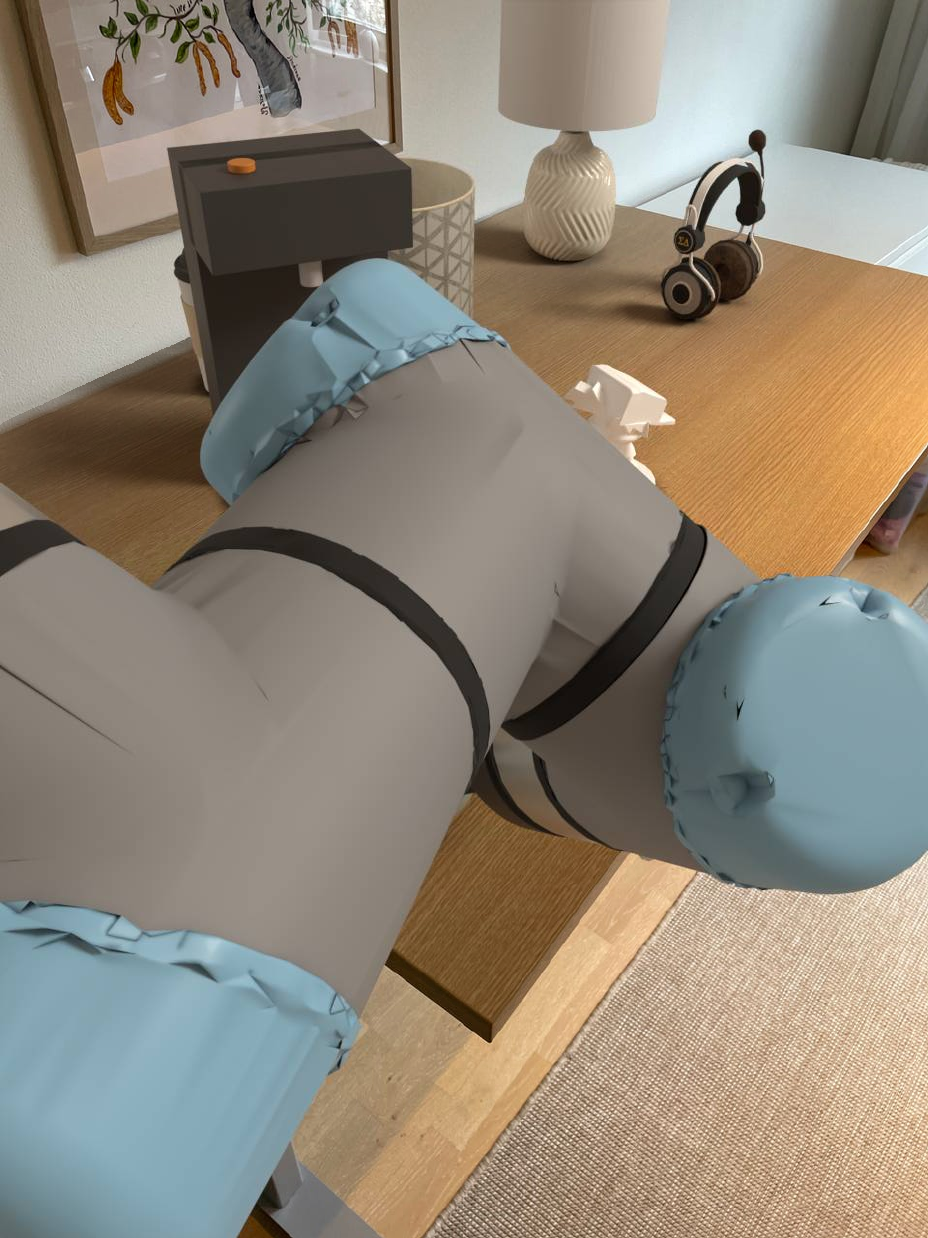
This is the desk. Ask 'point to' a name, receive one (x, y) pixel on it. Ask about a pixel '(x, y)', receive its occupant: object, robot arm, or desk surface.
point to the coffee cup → (189, 308)
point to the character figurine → (620, 409)
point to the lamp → (577, 106)
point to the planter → (442, 230)
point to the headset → (727, 261)
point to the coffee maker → (279, 231)
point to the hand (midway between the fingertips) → (432, 737)
